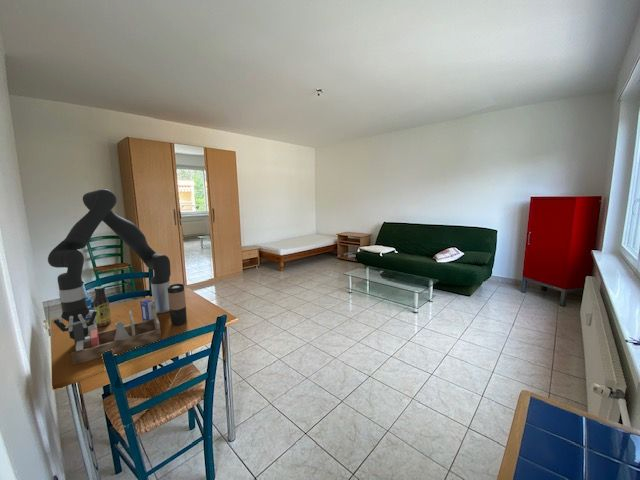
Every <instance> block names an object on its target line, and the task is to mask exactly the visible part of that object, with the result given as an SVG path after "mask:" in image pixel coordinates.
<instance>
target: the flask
mask: <svg viewBox="0 0 640 480" xmlns="http://www.w3.org/2000/svg"><path fill="white" fill-rule="evenodd" d="M114 326H115V328H116V334H115V338H114V340H113V341H116V340H120V339H124V338H127V337H131V335H130V336H129V335H128V333H127V332H126V330H125V328H124V326H125V321H119V322H115V323H114Z"/></svg>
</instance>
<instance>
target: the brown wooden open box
mask: <svg viewBox="0 0 640 480" xmlns="http://www.w3.org/2000/svg"><path fill="white" fill-rule="evenodd" d="M128 314H129V323H130V324H127V325H124V328H125V330H126V332H127V333H128V335H129V336H130V337H127V338H124V339H120V340H116V341H114V338H115V334H116V327H115V328H111V329H108V330H104V331H98V337H99V343H100V345H98V346H94V347H92V344H91V340H90V341H87V342H84V346H83V350H79V351H76V350H75V351H73V352H71V354H70V355H71V361H72V366H76V365H79V364H82V363H85V362H89V361H93V360H96V359H99V358H103V357H102V356H101V354H102V353H103V352H105V351H108V350H111V349H113V350H114V353H113V354H115V353H116V354H117V353H119V352H122V351H127V350H130V349H133V348H137V347H141V346H143V345H147V344H151V343H154V342H158V341H160V340H162V339H163V337H162V332H161V324H160V321H159V318H158V316H157V315H158V314H157V313H155V314H153V316H154V319H151V320H147V321H143V320H142V321H140V322H135V321H134V317H133V311H132V310H129V311H128ZM156 314H157V315H156ZM88 336H91V335H87V336H85V337H88ZM73 340H74V346H75V348H76V344H77V342H75V339H73Z"/></svg>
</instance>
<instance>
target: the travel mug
mask: <svg viewBox="0 0 640 480" xmlns="http://www.w3.org/2000/svg"><path fill="white" fill-rule="evenodd" d="M184 285H185V284H183V283H175V284H174V283H173V284H170V287H167V288H168V299H169V309H170V311H169V314H170V322H171V326H176V327H177V326H182V325H184V324H186V323H187V321H188V320H187V319H188V317H187V316H188V315H187V303H186V294H185V286H184Z"/></svg>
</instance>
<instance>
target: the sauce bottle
mask: <svg viewBox="0 0 640 480" xmlns="http://www.w3.org/2000/svg"><path fill="white" fill-rule="evenodd" d="M105 291H106V288H105V286H104V285H103V286H102V285H101V286H96V287H94V293H95V297H94V299H93V302H92V304H93V309H94V310H97V314H96V325H97V327H104V326H105V327H106V326H108V325H110V324H111V321H112V317H111V308H110V301H109V299H108V297H107V296H106V292H105Z"/></svg>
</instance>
